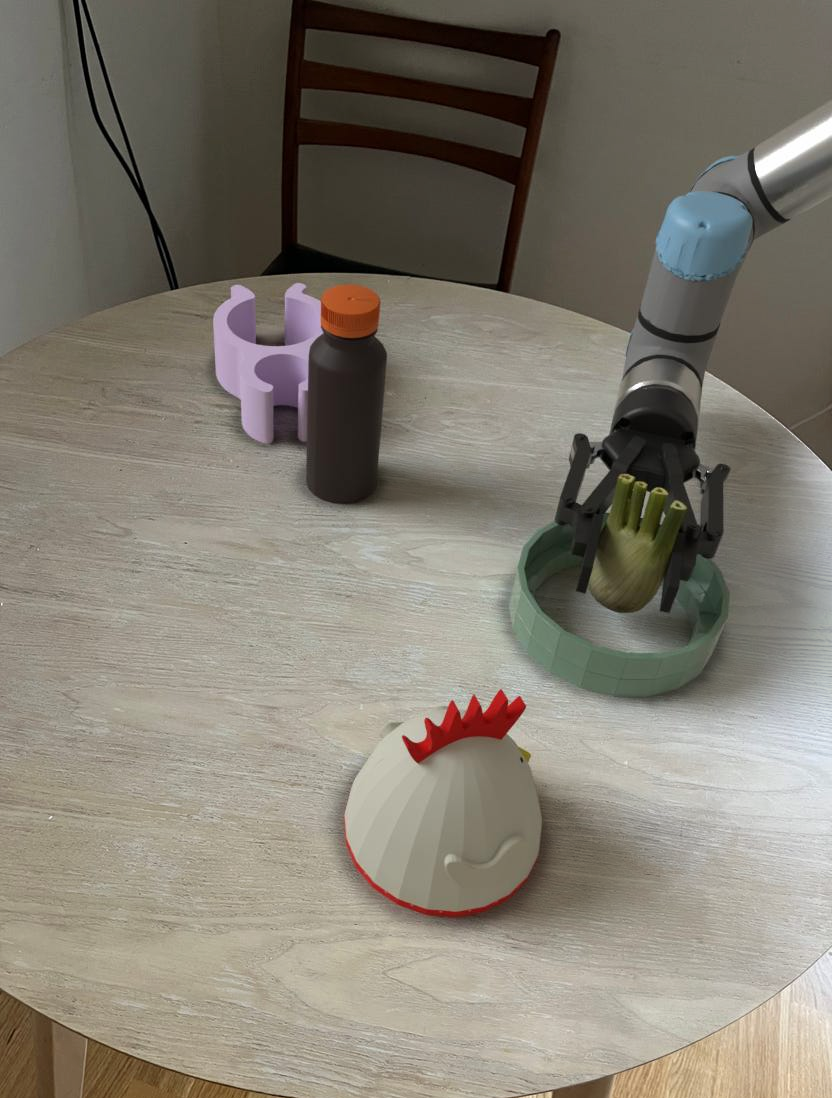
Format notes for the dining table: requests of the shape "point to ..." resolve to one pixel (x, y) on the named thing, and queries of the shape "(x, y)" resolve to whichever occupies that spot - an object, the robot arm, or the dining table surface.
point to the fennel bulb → (634, 547)
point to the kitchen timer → (446, 810)
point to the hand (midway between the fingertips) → (626, 589)
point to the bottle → (345, 397)
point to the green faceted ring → (603, 665)
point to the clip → (266, 359)
